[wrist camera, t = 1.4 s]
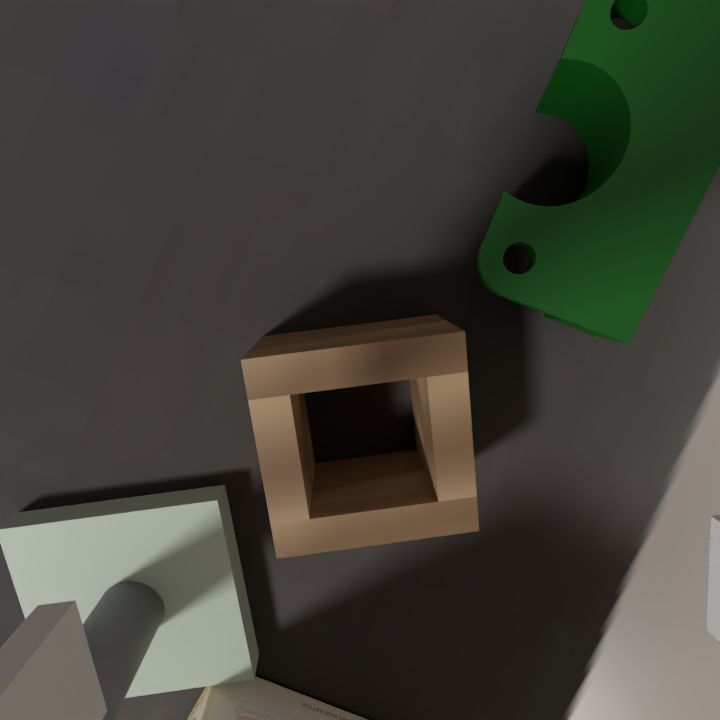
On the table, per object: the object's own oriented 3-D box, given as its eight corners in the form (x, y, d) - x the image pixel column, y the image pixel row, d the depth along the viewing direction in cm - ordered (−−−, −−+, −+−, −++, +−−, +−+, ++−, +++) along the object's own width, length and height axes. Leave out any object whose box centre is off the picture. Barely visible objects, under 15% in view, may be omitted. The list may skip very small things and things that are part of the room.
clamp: (530, 119, 24) (622, -88, 15) (645, 158, 23) (811, -36, 15) (446, 322, 21) (498, 214, 13) (572, 373, 21) (721, 295, 12)
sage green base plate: (18, 512, 22) (-205, 691, 13) (224, 484, 23) (148, 641, 13) (71, 681, 25) (-88, 936, 15) (259, 654, 25) (213, 889, 16)
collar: (262, 336, 21) (240, 360, 16) (435, 314, 21) (465, 331, 17) (289, 494, 23) (276, 558, 18) (449, 473, 23) (479, 531, 18)
